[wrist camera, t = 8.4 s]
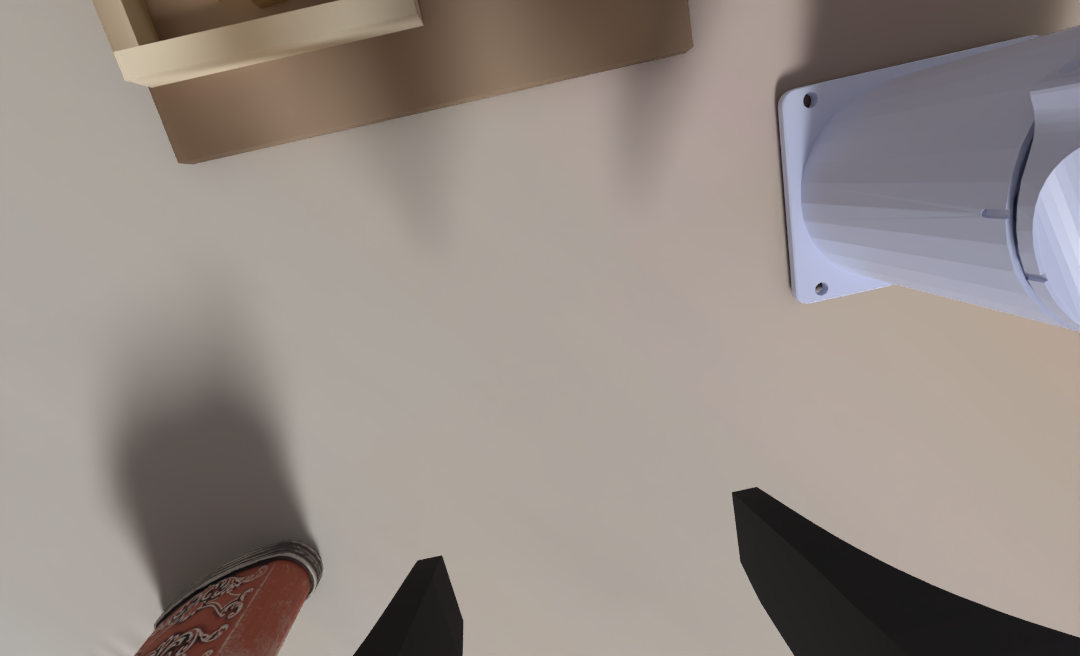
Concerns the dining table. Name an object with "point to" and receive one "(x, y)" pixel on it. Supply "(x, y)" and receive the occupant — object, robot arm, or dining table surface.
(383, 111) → the gear board
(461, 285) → the dining table surface
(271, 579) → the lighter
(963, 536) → the dining table surface
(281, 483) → the dining table surface
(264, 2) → the brass gear
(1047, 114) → the robot arm
